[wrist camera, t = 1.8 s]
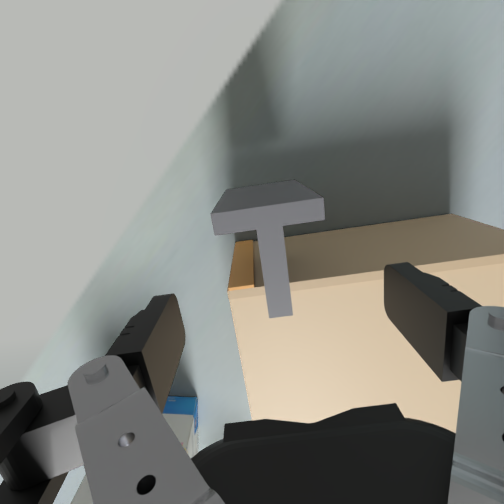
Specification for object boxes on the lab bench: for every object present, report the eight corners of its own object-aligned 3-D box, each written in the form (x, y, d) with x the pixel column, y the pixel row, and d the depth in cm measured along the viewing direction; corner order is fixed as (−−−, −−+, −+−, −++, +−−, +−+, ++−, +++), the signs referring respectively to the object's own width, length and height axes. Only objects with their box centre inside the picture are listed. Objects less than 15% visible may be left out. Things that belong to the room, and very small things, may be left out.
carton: (449, 220, 28) (553, 256, 18) (440, 362, 33) (517, 448, 23) (236, 250, 29) (229, 299, 19) (259, 384, 34) (262, 476, 24)
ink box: (124, 392, 34) (62, 510, 23) (199, 396, 34) (174, 514, 23) (129, 448, 37) (76, 578, 26) (198, 451, 37) (176, 581, 26)
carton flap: (456, 149, 26) (672, 147, 12) (451, 220, 28) (633, 282, 14) (224, 183, 26) (199, 215, 13) (236, 250, 28) (223, 334, 15)
